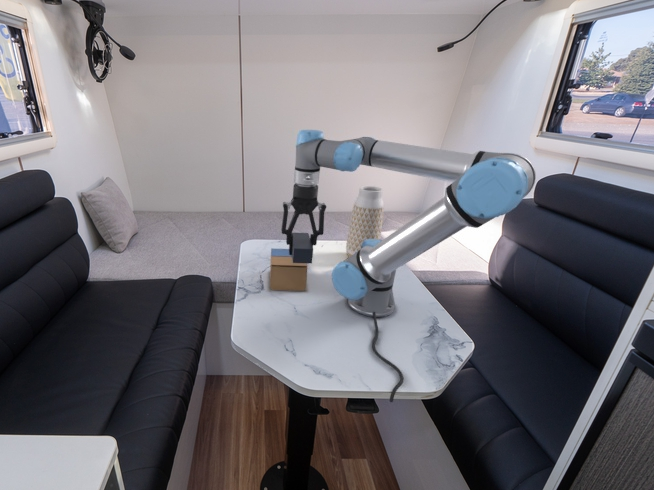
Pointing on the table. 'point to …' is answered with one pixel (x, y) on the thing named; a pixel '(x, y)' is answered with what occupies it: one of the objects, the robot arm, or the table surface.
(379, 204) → the vase
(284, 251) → the flap
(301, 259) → the case
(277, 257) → the carton
